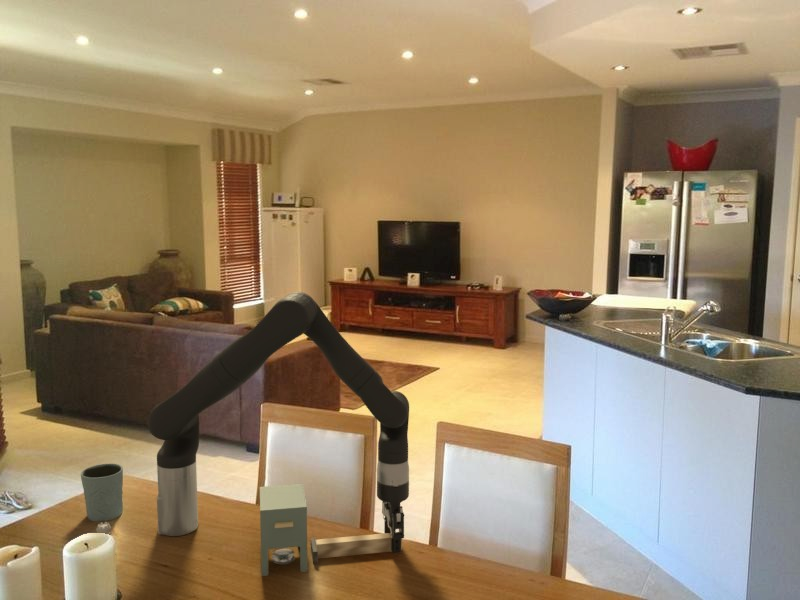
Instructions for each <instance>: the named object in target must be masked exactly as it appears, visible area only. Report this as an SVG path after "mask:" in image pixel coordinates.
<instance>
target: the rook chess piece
mask: <svg viewBox="0 0 800 600" xmlns="http://www.w3.org/2000/svg"><path fill="white" fill-rule="evenodd" d="M111 529H112V526H111V524H110V522H107V521H104V522H100V523H98V524H97V527H96V528H95V531H96V532H97V533H105V534H109V535H110V536H111V534H112V533H111V532H110V530H111Z"/></svg>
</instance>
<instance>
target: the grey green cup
mask: <svg viewBox="0 0 800 600" xmlns="http://www.w3.org/2000/svg"><path fill="white" fill-rule="evenodd" d="M123 471H124V468H123V466H122V465H120V464H117V463H102V464H97V465H92V466H90V467H87V468H84V470H82V471H81V473H80V478H81V485H82V489H83V494H84V501H85V502H84V503H85V510H86V517H87V519H88V520H89V521H92V522H107V521H111V520H114V519H116V518H118V517H120V516H121V515H122V514H123V510H124V502H123V494H124V493H123V491H124V490H123V486H124V484H123V483H124V472H123Z"/></svg>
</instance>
